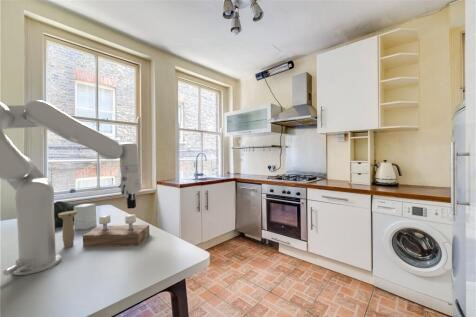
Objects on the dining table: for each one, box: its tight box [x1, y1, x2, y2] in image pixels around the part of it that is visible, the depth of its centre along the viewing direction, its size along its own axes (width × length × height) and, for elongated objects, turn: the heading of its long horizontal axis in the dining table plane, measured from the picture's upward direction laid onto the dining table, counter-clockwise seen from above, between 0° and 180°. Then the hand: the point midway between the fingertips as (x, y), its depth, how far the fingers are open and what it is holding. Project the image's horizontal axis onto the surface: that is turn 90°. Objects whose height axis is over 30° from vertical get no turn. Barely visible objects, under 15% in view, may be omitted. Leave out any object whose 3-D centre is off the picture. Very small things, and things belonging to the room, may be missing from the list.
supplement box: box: [73, 203, 98, 231], centre depth 114 cm, size 7×7×13 cm
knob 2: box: [124, 213, 137, 231], centre depth 95 cm, size 4×4×8 cm
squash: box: [54, 200, 76, 228], centre depth 119 cm, size 14×15×15 cm
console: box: [82, 224, 150, 248], centre depth 95 cm, size 12×24×5 cm, turn 91°
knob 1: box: [98, 214, 111, 231], centre depth 95 cm, size 4×4×8 cm
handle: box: [58, 211, 77, 248], centre depth 90 cm, size 5×6×15 cm
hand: (131, 207), depth 96 cm, fingers closed
